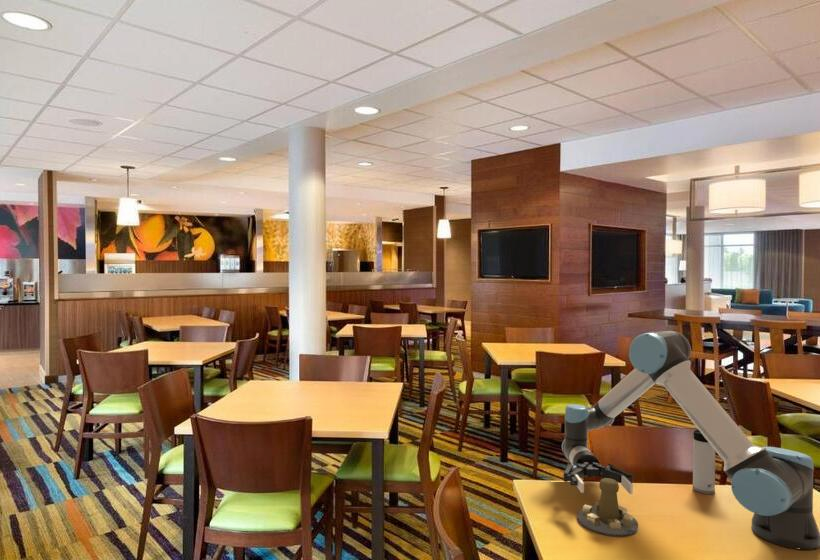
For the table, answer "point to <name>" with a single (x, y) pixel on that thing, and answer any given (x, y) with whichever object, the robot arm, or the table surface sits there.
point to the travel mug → (703, 464)
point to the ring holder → (613, 527)
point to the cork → (608, 500)
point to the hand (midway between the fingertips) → (606, 488)
